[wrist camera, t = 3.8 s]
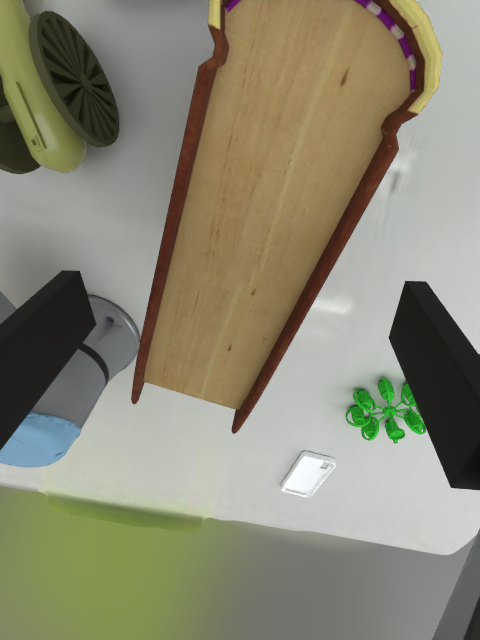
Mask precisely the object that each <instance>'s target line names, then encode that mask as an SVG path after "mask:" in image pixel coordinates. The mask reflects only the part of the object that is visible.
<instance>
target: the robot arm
mask: <svg viewBox="0 0 480 640" xmlns="http://www.w3.org/2000/svg"><path fill="white" fill-rule="evenodd" d="M389 340H390V342H391V345H392V347H393V349H394V352H395V354H396V357H397V359H398V362H399V364H400V366H401V369H402V371H403V374H404V376H405V378H406V381H407V383H408V386H409V388H410V390H411V393H412V395H413V398H414V400H415V402H416V405H417V407H418V410H419V412H420V414H421V417H422V419H423V422H424V424H425V426H426V429H427V431H428V434H429V436H430V438H431V441H432V443H433V446H434V448H435V450H436V453H437V455H438V458H439V460H440V462H441V465H442V467H443V470H444V472H445V474H446V477H447V479H448V482H449V484H450V486H451V488H459V489H471V490H480V354H478V353H477V352H476V350H475V349H474V347H473V346H472V345H471V343H470V342H469V341H468V339H467V338H466V336H465V335H464V334H463V332H462V331H461V329H460V328H459V327H458V325H457V324H456V322H455V321H454V320H453V318H452V317H451V316H450V314H449V313H448V311H447V310H446V309H445V307H444V306H443V304H442V303H441V302H440V300H439V299H438V297H437V296H436V295H435V293H434V292H433V291H432V289H431V288H430V286H429V285H428V284H427V282H420V281H405V284H404V287H403V291H402V294H401V297H400V301H399V304H398V308H397V311H396V314H395V318H394V321H393V325H392V328H391V331H390V335H389ZM139 345H140V337H139V333H138V330H137V328H136V326H135V324H134V322H133V321H132V320H131V318H130V317H129V316H128V315H127V314H126V313H125V312H124V311H123V310H122V309H120V308H119V307H118V306H116V305H115V304H113V303H111V302H109V301H107V300H105V299H103V298H100V297H96V296H92V295H87V292H86V289H85V286H84V283H83V280H82V277H81V273H80V271H66V270H62V271H61V272H60V273H59V274H58V275H56V276H55V277H54V278H53V279H52V280H51V281H50V282H48V283H47V284H46V285H45V286H44V287H43V288H41V289H40V290H39V291H38V292H37V293H36V294H34V295H33V296H32V297H31V298H30V299H29V300H27V301H26V302H25V303H24V304H23V305H22V306H21V307H19V308H18V309H16V308H15V307H14V306H13V304H12V303H11V302H10V301H9V300H8V299H7V298H6V297H5V296H4V295H3V294H2V293H1V291H0V463H3V464H7V465H13V466H19V467H41V466H46V465H50V464H52V463H55V462H56V461H58V460H60V459H61V458H62V457H63V456H64V455H65V454H66V452H67V451H68V449H69V448H70V447H71V445H72V444H73V442H74V441H75V439H76V438H77V437H78V436H79V435H80V432H81V429H82V427H83V425H84V424H85V422H86V420H87V418H88V416H89V415H90V413H91V411H92V409H93V408H94V406H95V404H96V402H97V401H98V399H99V397H100V395H101V393H102V392H103V390H104V388H105V386H106V385H107V383H108V381H110V380H111V379H112V378H113V377H114V376H115V375H116V374H117V373H118V372H120V371H122V370H123V369H125V368H126V367H127V366H128V365H129V364H130V363H131V362H132V361H133V359H134V358H135V356H136V354H137V352H138V350H139ZM432 640H480V529H479V532H478V534H477V536H476V539H475V541H474V543H473V546H472V548H471V550H470V553H469V555H468V557H467V560H466V562H465V564H464V567H463V569H462V572H461V574H460V576H459V578H458V581H457V583H456V585H455V588H454V590H453V592H452V595H451V597H450V599H449V601H448V604H447V606H446V609H445V611H444V613H443V615H442V618H441V620H440V622H439V625H438V627H437V629H436V632H435V634H434V636H433V639H432Z"/></svg>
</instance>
